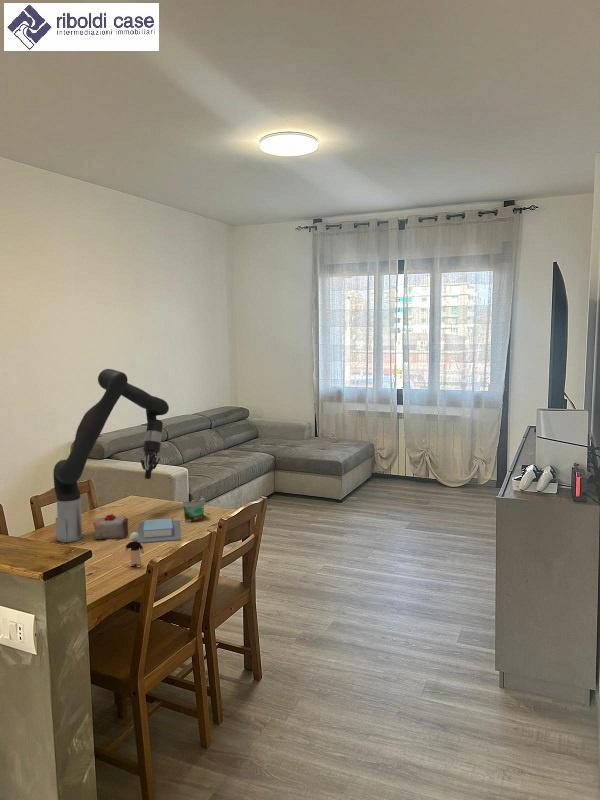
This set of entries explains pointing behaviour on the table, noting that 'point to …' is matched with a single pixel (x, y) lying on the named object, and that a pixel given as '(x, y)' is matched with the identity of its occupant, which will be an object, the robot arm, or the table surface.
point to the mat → (175, 537)
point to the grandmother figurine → (135, 549)
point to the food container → (194, 510)
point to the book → (158, 528)
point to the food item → (111, 527)
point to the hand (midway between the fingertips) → (147, 478)
